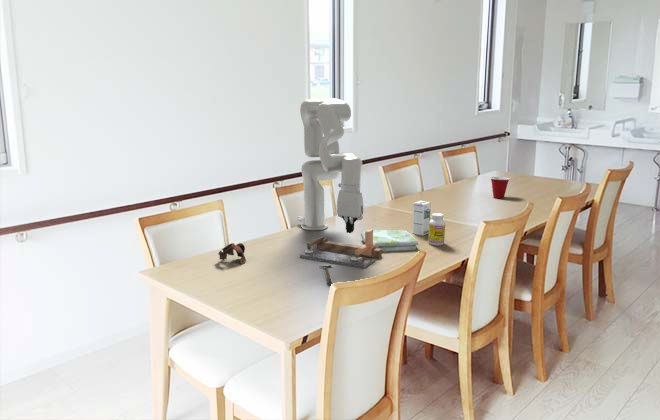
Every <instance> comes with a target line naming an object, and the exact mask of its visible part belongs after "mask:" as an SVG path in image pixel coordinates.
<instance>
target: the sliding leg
mask: <svg viewBox="0 0 660 420" xmlns="http://www.w3.org/2000/svg"><path fill="white" fill-rule="evenodd" d="M366 230H367V231H365V242H364V244H362V245H361V246H362V247H360V248H358V249H357V250H355V254H354V256H355V257H356V258H358V257H360V256H361V255H360V254H362V255H368V256H371V255H372V249H373V248H376V244H373V228H368V229H366Z"/></svg>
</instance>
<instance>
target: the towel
mask: <svg viewBox="0 0 660 420" xmlns="http://www.w3.org/2000/svg"><path fill="white" fill-rule="evenodd" d="M372 229H373V228H372ZM367 230H368V229H364V230H362V231H361V233H360V237H361V239H362V241H363V242H364V243H365V231H367ZM373 244H376V248H379V249H382V252H383V253H384V252H397V251H398V252H399V251H414V250H417V245H419V241H418V240H417V238H415V237H414V236H413V235H412V234H411V233H410V232H408V231H407V230H405V229H375V228H374V229H373Z"/></svg>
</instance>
